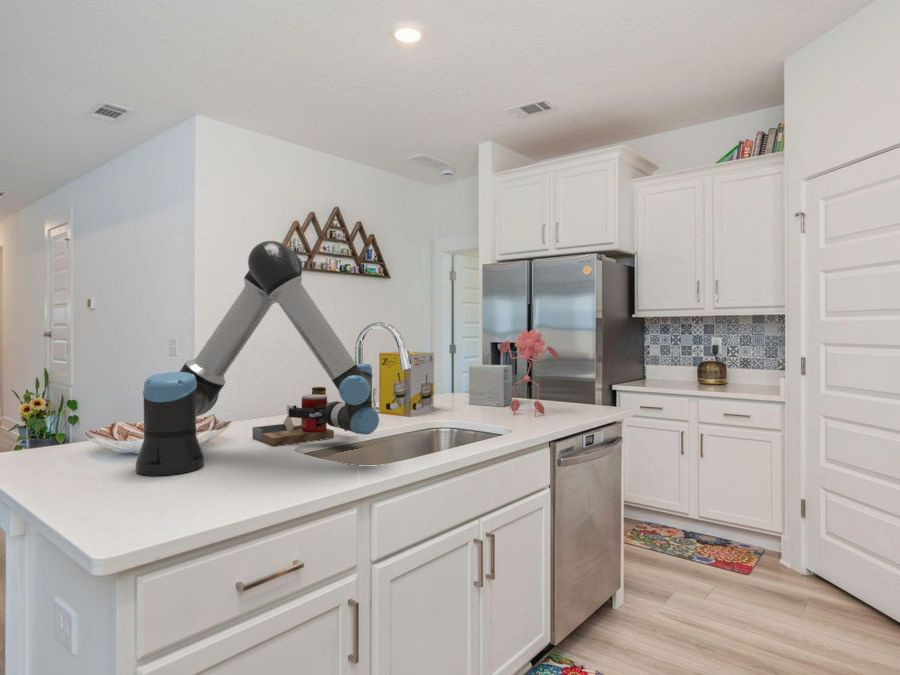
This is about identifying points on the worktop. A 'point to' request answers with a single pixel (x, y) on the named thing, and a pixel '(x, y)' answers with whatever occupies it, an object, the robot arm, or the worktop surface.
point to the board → (294, 436)
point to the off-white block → (292, 423)
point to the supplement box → (490, 385)
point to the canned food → (318, 401)
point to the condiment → (319, 390)
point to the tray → (267, 430)
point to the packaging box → (406, 384)
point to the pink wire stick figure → (528, 347)
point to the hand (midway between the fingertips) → (308, 407)
